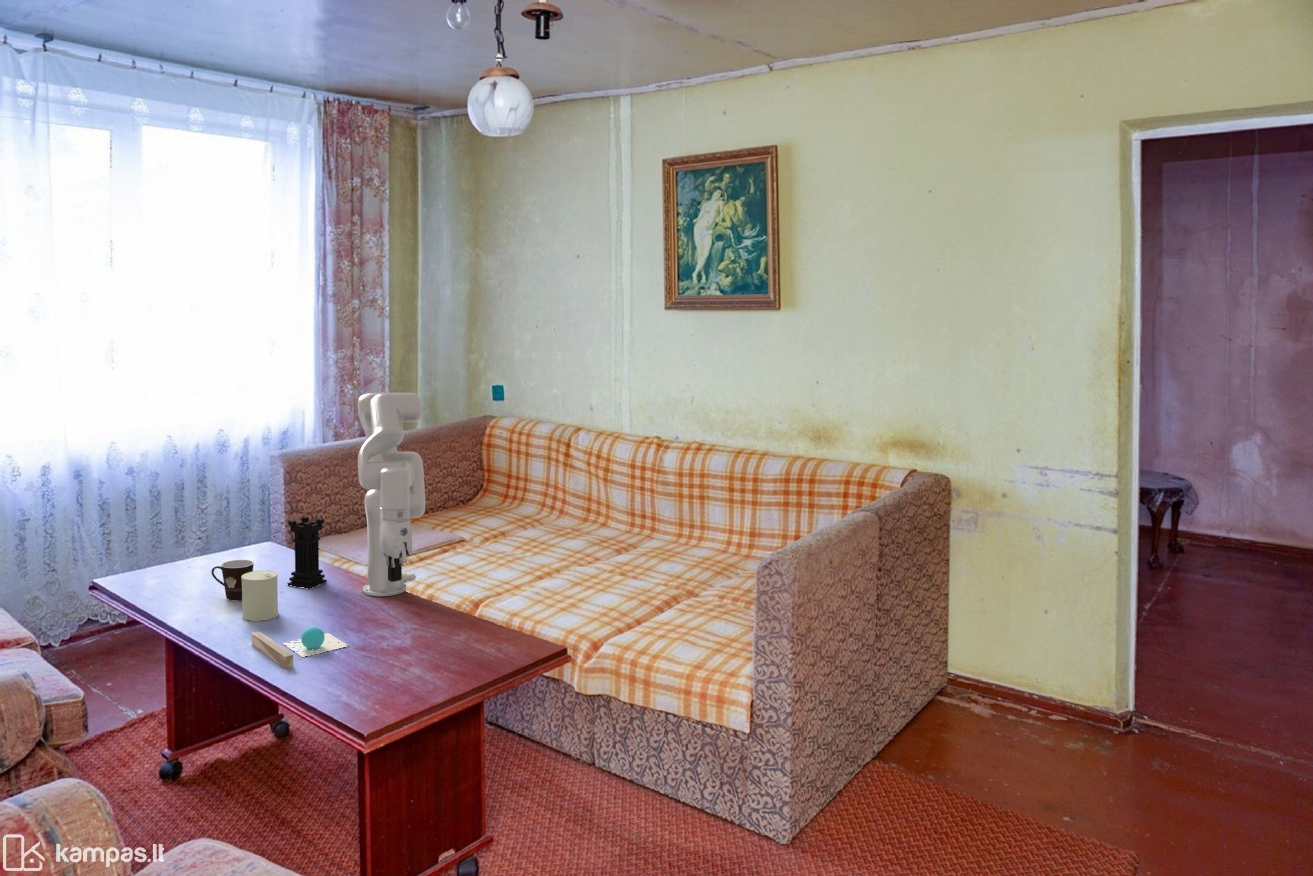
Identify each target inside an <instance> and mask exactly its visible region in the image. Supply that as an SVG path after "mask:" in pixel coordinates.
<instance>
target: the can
mask: <svg viewBox="0 0 1313 876" xmlns="http://www.w3.org/2000/svg"><path fill="white" fill-rule="evenodd" d="M241 578H242V600H241V601H242V603H241V604H242V616H241V618H242V619H243V620H245V621H247V620H251V621H250V622H263V621H262V620H266V621H268V620H269V619H270V620H272V618H273V619H275V618H277V617H278V616H279V605H278V604H279V602H278V601H279V600H278V596H279V595H278V593H279V592H278V573H277V572H276V571H274V570H273V571H272V570H255V571H254V570H253V572H249V573H245V574H243V575H242V576H241ZM260 620H261V621H260ZM270 620H269V621H270Z"/></svg>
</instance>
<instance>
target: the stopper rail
mask: <svg viewBox="0 0 1313 876" xmlns="http://www.w3.org/2000/svg"><path fill="white" fill-rule="evenodd" d="M251 646H253V647H254V648H256V650H258V649H259V650H258V651H260V652H261V653H262V654H264V655H265V656H267V657H268V658H270V660H272V661H274V662H275V663H276V664H278V665H279V666H280V665H281V667H282V668H283V669H286V670H287V669H289V668H294V654H293V653H291V652H290V651H289V650H287V649H286V648H284V647H283V646H282V645H280V644H279V643H277V642H276V641H274V640H272V638H270V637H268V636H266V635H265V634H264V633H263V632H261V631H255V632H251Z"/></svg>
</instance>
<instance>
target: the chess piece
mask: <svg viewBox="0 0 1313 876" xmlns="http://www.w3.org/2000/svg"><path fill="white" fill-rule="evenodd" d="M300 519H301V520H300V521H299V522H297V520H293V519H292V520H291V519H290V520H288V522H287V525H288V526H290V533H291V532H293V533H294V538H292V542H293V543H294V569H295V570H294V571H291V572H290V574H291V577H289V579H288V580H289V582H287V584H288V585H292V586H296V587H295V588H298V587H304V588H308V589H307V590H311V589H313V588H312V587H314V588H316V587H318V586H317V585H319V584H321V585H324V584H326V583H327V582H328V580H327V579H324V578H326V577H325V574H322V573H323V572H324V571H323V569H320V567H319V566H320V554H319V552H320V551H319V546H320V545H319V543H320V542H319V541H320V540H321V536H319V531H321V530H323V524H325V519H324V518H317V519H315V521H311V520H310V517H309V516H301V517H300ZM325 582H326V583H325ZM323 583H324V584H323ZM287 584H286V585H287ZM292 586H291V587H292ZM315 586H316V587H315ZM319 586H320V585H319ZM304 588H303V589H304ZM310 588H311V589H310Z"/></svg>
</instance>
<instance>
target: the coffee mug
mask: <svg viewBox="0 0 1313 876" xmlns="http://www.w3.org/2000/svg"><path fill="white" fill-rule="evenodd" d="M254 564H255V562H254V561H253V560H250V559H232V560H228V561H224V562H222V563H220V566H219V565H217V566H214V567H213V568H212V569H211V575H212V577H213V579H214V580H215V581H216V582H218V584H220V585H222V586H223V587H224V592H225V597H226V598H227V599H229V600H228V601H232V600H238V601H242V578H241V576H242V575H243V574H245V573H249V572H253V571H254ZM216 569H219V570H221V572H222V573H221V574H222V578H223V581H222V580H220V579H218V578H217V576H216V575H215V573H214V572H215V570H216ZM226 598H225V599H226ZM227 599H226V600H227Z"/></svg>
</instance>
